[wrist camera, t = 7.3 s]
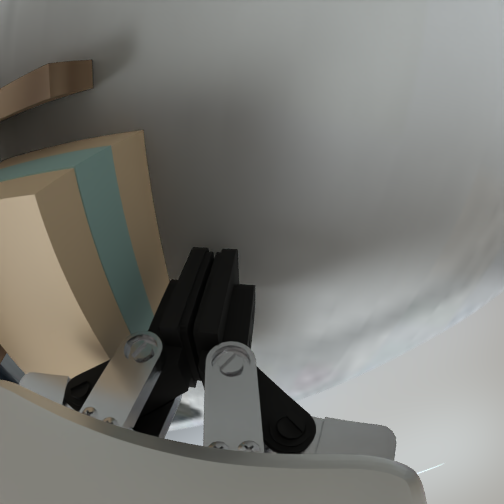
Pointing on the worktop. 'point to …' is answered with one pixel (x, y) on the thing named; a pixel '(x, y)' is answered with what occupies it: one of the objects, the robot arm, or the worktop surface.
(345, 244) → the worktop surface
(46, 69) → the display stand
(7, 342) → the carton
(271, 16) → the worktop surface
